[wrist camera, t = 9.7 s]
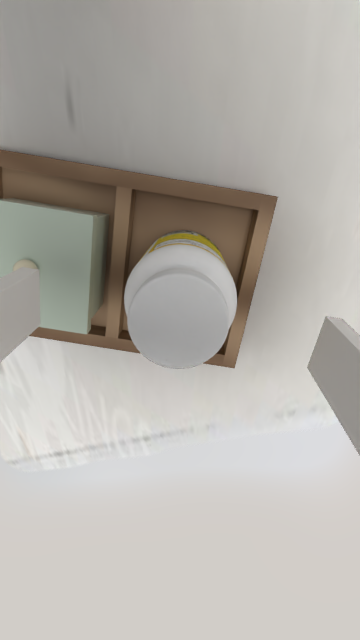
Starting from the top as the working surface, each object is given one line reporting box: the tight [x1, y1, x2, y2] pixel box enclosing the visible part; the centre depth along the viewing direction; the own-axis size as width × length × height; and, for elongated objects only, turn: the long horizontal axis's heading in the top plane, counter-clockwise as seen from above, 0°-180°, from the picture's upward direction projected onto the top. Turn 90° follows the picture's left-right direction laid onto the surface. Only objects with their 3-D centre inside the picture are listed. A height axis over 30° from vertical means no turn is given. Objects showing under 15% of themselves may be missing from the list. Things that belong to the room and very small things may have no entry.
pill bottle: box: [124, 230, 237, 369], centre depth 20 cm, size 6×6×11 cm
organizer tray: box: [0, 150, 278, 368], centre depth 25 cm, size 13×20×2 cm, turn 81°
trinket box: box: [0, 198, 109, 334], centre depth 22 cm, size 8×8×6 cm
